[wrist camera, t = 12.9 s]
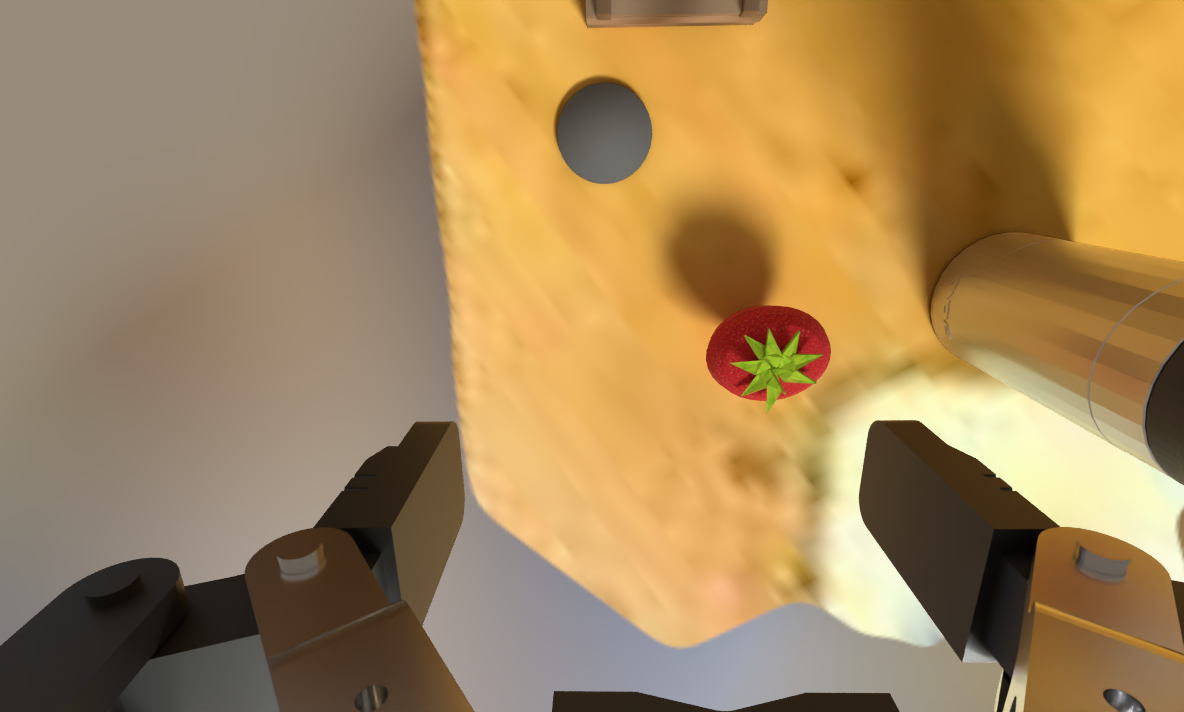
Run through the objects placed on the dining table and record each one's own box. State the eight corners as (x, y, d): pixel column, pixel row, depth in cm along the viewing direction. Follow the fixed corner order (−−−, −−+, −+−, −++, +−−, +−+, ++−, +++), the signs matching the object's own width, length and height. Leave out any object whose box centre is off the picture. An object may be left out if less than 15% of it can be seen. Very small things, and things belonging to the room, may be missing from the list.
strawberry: (802, 361, 43) (859, 420, 33) (697, 374, 43) (723, 436, 34) (800, 281, 41) (860, 318, 31) (690, 295, 41) (716, 336, 32)
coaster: (652, 82, 37) (652, 81, 36) (650, 182, 39) (651, 183, 38) (556, 84, 37) (555, 83, 37) (559, 184, 39) (558, 184, 39)
